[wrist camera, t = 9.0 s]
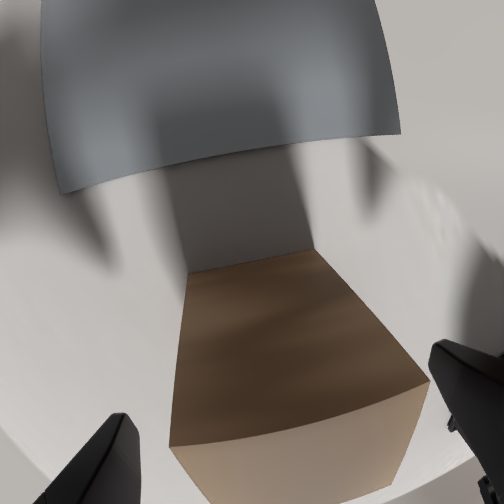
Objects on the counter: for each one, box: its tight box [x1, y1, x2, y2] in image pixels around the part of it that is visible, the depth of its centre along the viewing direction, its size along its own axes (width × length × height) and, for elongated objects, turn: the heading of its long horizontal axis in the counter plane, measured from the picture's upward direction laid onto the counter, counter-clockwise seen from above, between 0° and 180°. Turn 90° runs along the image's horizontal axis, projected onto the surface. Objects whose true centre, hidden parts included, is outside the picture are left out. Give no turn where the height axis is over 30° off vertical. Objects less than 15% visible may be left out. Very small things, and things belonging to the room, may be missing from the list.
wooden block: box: [169, 249, 430, 504], centre depth 8 cm, size 4×4×7 cm
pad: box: [41, 0, 401, 195], centre depth 8 cm, size 12×10×1 cm
